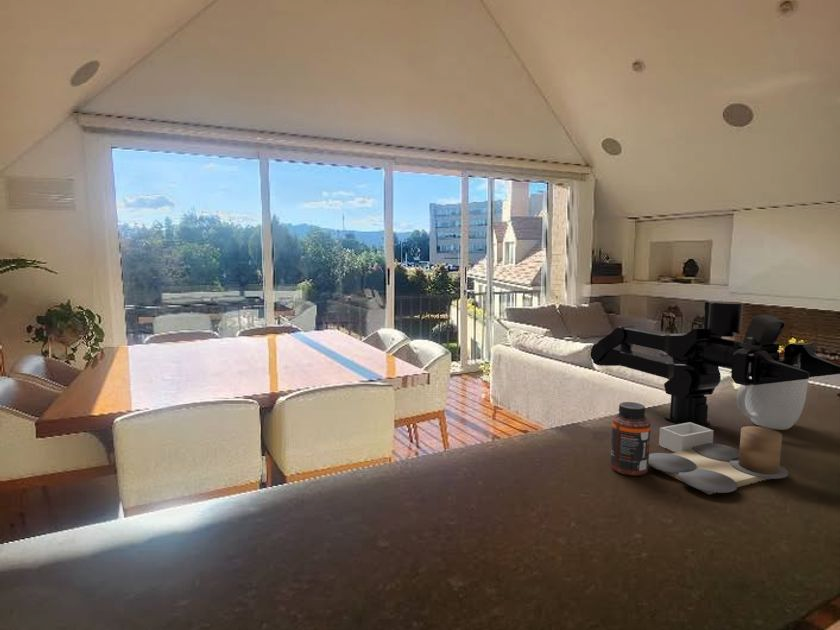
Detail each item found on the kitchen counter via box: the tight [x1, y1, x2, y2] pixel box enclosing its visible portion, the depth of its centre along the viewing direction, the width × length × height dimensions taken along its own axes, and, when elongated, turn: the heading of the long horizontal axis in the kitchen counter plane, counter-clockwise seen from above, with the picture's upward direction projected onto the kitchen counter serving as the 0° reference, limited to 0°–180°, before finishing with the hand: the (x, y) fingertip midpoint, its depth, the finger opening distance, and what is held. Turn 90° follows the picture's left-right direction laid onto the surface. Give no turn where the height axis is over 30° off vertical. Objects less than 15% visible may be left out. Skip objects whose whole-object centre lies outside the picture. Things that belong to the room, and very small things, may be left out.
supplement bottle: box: [610, 401, 651, 477], centre depth 84 cm, size 6×6×11 cm
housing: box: [658, 422, 715, 453], centre depth 95 cm, size 5×8×4 cm, turn 113°
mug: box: [736, 376, 809, 431], centre depth 106 cm, size 15×11×13 cm
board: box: [648, 425, 789, 495], centre depth 84 cm, size 15×20×7 cm
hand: (826, 373), depth 83 cm, fingers open, 9 cm apart
